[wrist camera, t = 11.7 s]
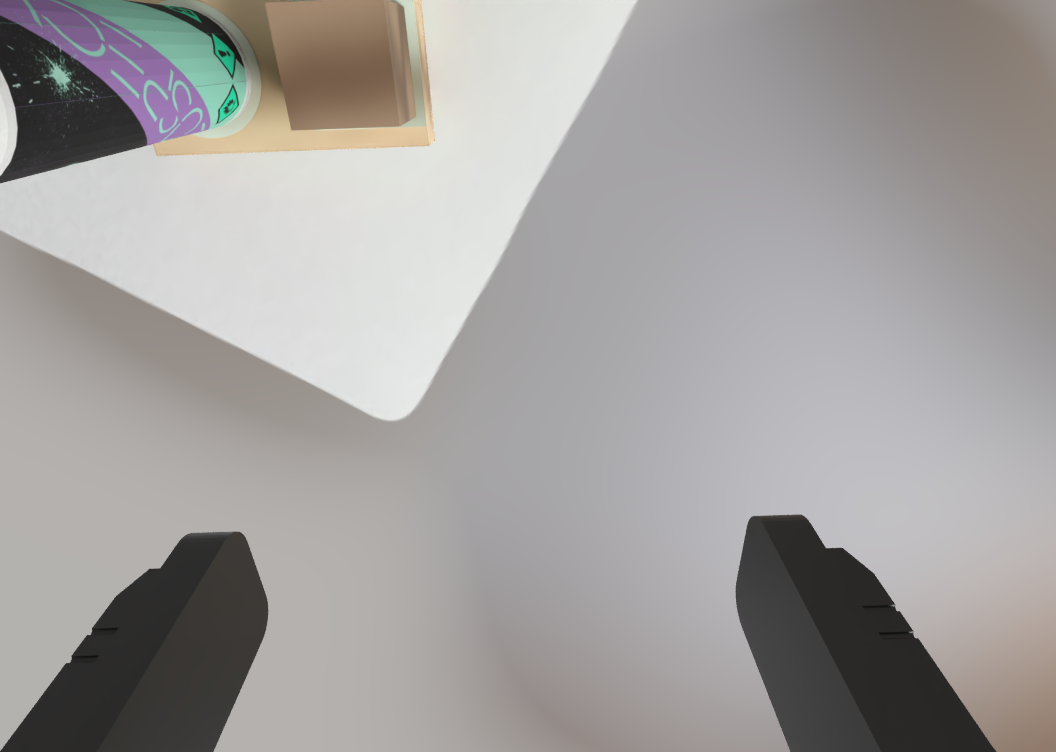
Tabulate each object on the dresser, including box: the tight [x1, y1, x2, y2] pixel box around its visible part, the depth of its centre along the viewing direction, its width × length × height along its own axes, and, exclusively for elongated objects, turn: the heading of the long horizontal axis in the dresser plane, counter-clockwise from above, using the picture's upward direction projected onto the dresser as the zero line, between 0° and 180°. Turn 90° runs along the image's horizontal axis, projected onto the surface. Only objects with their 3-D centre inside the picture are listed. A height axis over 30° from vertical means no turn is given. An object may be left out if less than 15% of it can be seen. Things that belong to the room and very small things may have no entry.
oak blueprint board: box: [128, 0, 435, 156], centre depth 32 cm, size 8×15×3 cm, turn 92°
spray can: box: [0, 0, 252, 183], centre depth 22 cm, size 6×6×20 cm
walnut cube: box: [265, 0, 416, 131], centre depth 28 cm, size 5×5×5 cm
